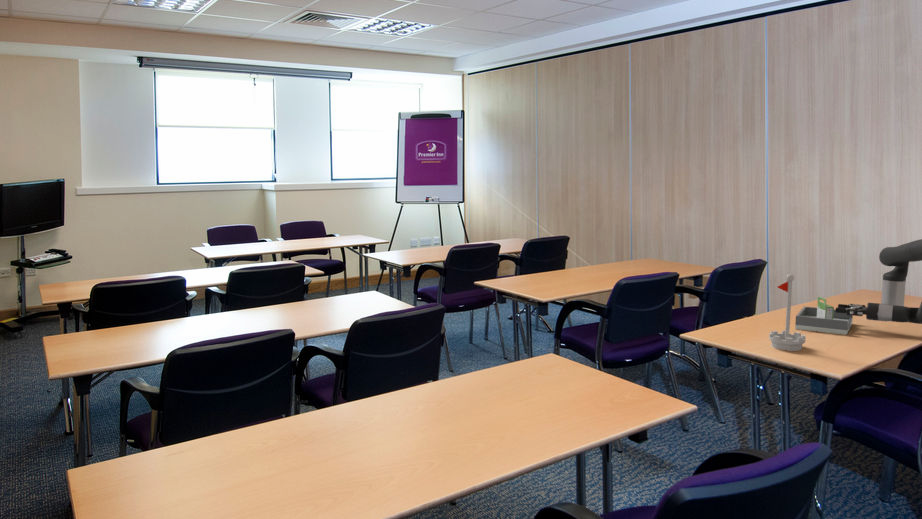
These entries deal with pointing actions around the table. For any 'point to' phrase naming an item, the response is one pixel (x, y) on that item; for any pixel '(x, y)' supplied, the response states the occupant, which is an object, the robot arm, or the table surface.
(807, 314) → the tray
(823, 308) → the ink box
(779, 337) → the flag stand
